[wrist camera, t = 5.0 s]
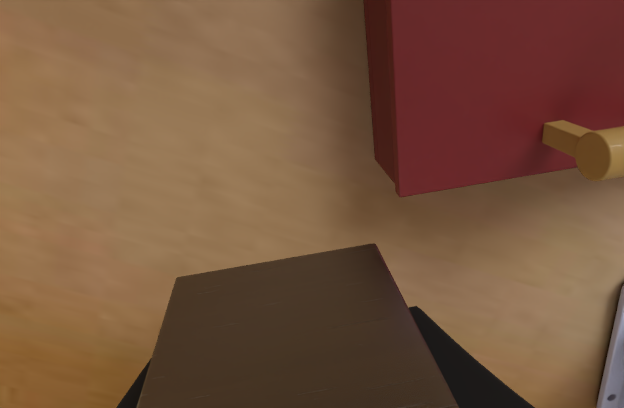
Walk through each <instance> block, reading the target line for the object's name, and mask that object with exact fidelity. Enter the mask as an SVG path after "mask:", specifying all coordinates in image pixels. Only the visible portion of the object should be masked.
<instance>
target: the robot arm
mask: <svg viewBox="0 0 624 408" xmlns="http://www.w3.org/2000/svg"><path fill="white" fill-rule="evenodd" d="M409 310H410V312H411V314H412V316H413V318H414V320H415V322H416V324H417V326H418V328H419V330H420V332H421V334H422V336H423V338H424V340H425V342H426V344H427V346H428V348H429V350H430V352H431V354H432V355H433V357H434V359H435V361H436V363H437V365H438V367H439V369H440V371H441V373H442V375H443V377H444V379H445V381H446V383H447V385H448V387H449V389H450V391H451V393H452V395H453V397H454V399H455V401H456V403H457V405H458V407H459V408H535V407H533V406H532V405H531V404H529V403H528V402H527V401H525V400H524V399H523V398H522V397H520V396H519V395H518V394H517V393H515V392H514V391H513V390H512V389H510V388H509V387H508V386H507V385H505V384H504V383H503V382H502V381H500V380H499V379H498V378H497V377H496V376H495V375H493V374H492V373H491V372H490V371H489V370H487V369H486V368H485V367H484V366H483V365H481V364H480V363H479V362H478V361H477V360H475V359H474V358H473V357H472V356H471V355H470V354H469V353H467V352H466V351H465V350H464V349H463V348H462V347H461V346H460V345H459V344H457V343H456V342H455V341H454V340H453V339H452V338H451V337H450V336H449V335H448V334H447V333H445V332H444V331H443V330H442V329H441V328H440V327H439V326H438V325H437V324H436V323H435V322H434V321H433V320H432V319H431V318H430V317H428V316H427V315H426V314H425V313H424V312H423V311H422V310H421V309H420V308H418V307H417V306H414V307H409ZM151 359H152V358H151ZM151 359H150V361H149V362H148V363H147V365H146V366H145V368H144V369H143V370H142V372H141V373H140V375H139V376H138V378H137V379H136V380H135V382H134V383H133V385H132V386H131V388H130V389H129V390H128V392H127V393H126V395H125V396H124V398H123V399H122V400H121V402H120V403H119V405H118V406H117V407H116V408H136V407H137V404H138V401H139V398H140V394H141V391H142V388H143V385H144V381H145V378H146V375H147V372H148V368H149V365H150V362H151ZM596 407H597V408H624V284H623V286H622V289H621V294H620V298H619V303H618V308H617V312H616V317H615V322H614V326H613V331H612V336H611V340H610V345H609V350H608V355H607V359H606V364H605V369H604V373H603V378H602V383H601V387H600V392H599V397H598V402H597V406H596Z"/></svg>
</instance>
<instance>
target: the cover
mask: <svg viewBox="0 0 624 408" xmlns="http://www.w3.org/2000/svg"><path fill="white" fill-rule="evenodd" d="M386 12H387V32H388V51H389V71H390V91H391V110H392V130H393V150H394V169H395V189H396V193H397V194H398V196H399V197H405V196H411V195H416V194H422V193H428V192H434V191H440V190H446V189H452V188H458V187H464V186H470V185H475V184H481V183H487V182H493V181H499V180H505V179H511V178H517V177H523V176H529V175H534V174H540V173H546V172H552V171H558V170H564V169H570V168H576V167H578V169H579V170H580V172H581V173H582V175H583V176H584V177H586V178H587V179H589V180H592V181H601V180H607V179H613V178H618V177H624V0H386Z"/></svg>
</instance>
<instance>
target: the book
mask: <svg viewBox="0 0 624 408" xmlns="http://www.w3.org/2000/svg"><path fill="white" fill-rule="evenodd" d="M364 12H365V26H366V40H367V54H368V68H369V82H370V96H371V109H372V123H373V137H374V151H375V160H376V161H377V162H378V164H379V165H380V166H381V167H382V168H383V170H384V171H385V172H386V173H387V175H388V176H389V177H390V178H391V180H392V181H393V182H394V183H395V169H394V150H393V130H392V110H391V91H390V71H389V51H388V32H387V12H386V0H364Z"/></svg>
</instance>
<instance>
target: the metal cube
mask: <svg viewBox="0 0 624 408" xmlns="http://www.w3.org/2000/svg"><path fill="white" fill-rule="evenodd" d="M136 408H459V407H458V405H457V403H456V401H455V399H454V397H453V395H452V393H451V391H450V389H449V387H448V385H447V383H446V381H445V379H444V377H443V375H442V373H441V371H440V369H439V367H438V365H437V363H436V361H435V359H434V357H433V355H432V354H431V352H430V350H429V348H428V346H427V344H426V342H425V340H424V338H423V336H422V334H421V332H420V330H419V328H418V326H417V324H416V322H415V320H414V318H413V316H412V314H411V312H410V310H409V308H408V306H407V304H406V303H405V301H404V299H403V297H402V295H401V293H400V291H399V289H398V287H397V285H396V283H395V281H394V279H393V277H392V275H391V273H390V271H389V269H388V267H387V265H386V263H385V261H384V259H383V257H382V255H381V253H380V251H379V250H378V248H377V246H376V244H374V243H373V244H367V245H361V246H356V247H350V248H344V249H338V250H332V251H327V252H321V253H315V254H309V255H303V256H298V257H292V258H286V259H280V260H275V261H269V262H263V263H257V264H251V265H246V266H240V267H234V268H228V269H222V270H217V271H211V272H205V273H199V274H194V275H188V276H182V277H178V278H176V281H175V284H174V287H173V290H172V294H171V297H170V300H169V303H168V307H167V310H166V313H165V316H164V320H163V323H162V326H161V329H160V333H159V336H158V339H157V342H156V346H155V349H154V352H153V355H152V359H151V362H150V365H149V368H148V372H147V375H146V378H145V381H144V385H143V388H142V391H141V394H140V398H139V401H138V404H137V407H136Z"/></svg>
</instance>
